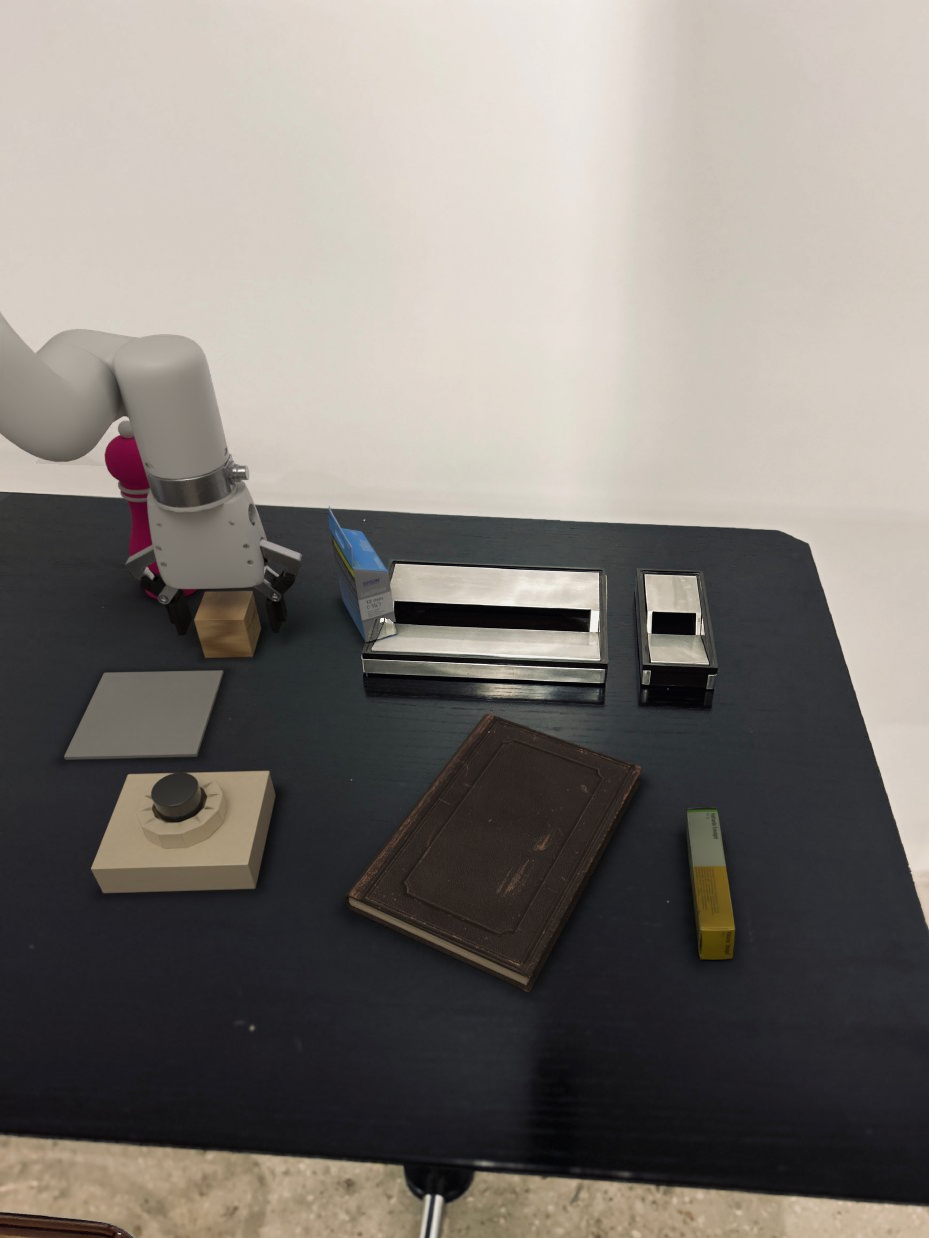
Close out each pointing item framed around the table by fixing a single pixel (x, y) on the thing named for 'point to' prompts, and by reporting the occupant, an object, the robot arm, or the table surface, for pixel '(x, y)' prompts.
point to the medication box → (709, 884)
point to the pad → (146, 715)
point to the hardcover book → (498, 849)
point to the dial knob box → (187, 837)
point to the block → (228, 624)
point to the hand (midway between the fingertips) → (232, 626)
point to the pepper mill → (133, 489)
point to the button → (177, 797)
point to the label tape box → (361, 577)
